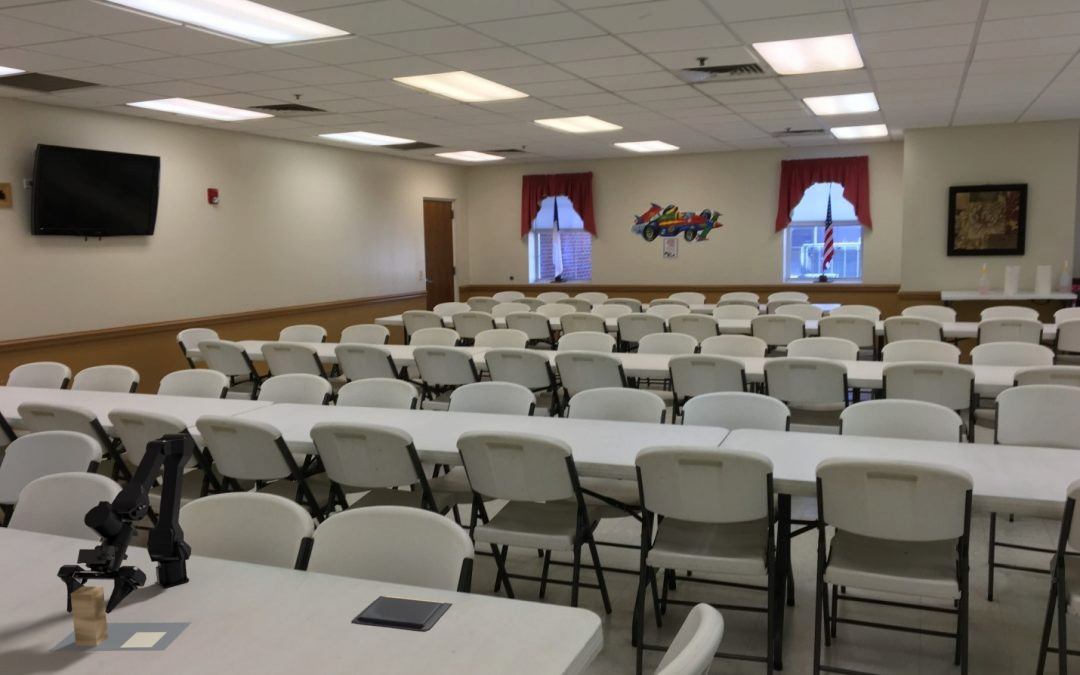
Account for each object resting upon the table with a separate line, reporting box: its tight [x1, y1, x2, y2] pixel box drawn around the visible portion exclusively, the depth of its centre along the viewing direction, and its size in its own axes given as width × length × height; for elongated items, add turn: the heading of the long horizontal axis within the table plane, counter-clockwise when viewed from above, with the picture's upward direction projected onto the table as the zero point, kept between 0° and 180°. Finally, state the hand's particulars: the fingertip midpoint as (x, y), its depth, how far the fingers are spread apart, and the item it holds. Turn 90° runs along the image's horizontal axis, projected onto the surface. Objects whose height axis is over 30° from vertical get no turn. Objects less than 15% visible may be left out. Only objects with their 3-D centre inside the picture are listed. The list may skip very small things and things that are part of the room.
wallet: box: [350, 595, 453, 633], centre depth 198 cm, size 20×2×15 cm
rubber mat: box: [48, 621, 192, 652], centre depth 189 cm, size 26×13×1 cm, turn 87°
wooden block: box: [71, 585, 108, 646], centre depth 186 cm, size 4×5×12 cm
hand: (87, 612), depth 186 cm, fingers open, 9 cm apart
